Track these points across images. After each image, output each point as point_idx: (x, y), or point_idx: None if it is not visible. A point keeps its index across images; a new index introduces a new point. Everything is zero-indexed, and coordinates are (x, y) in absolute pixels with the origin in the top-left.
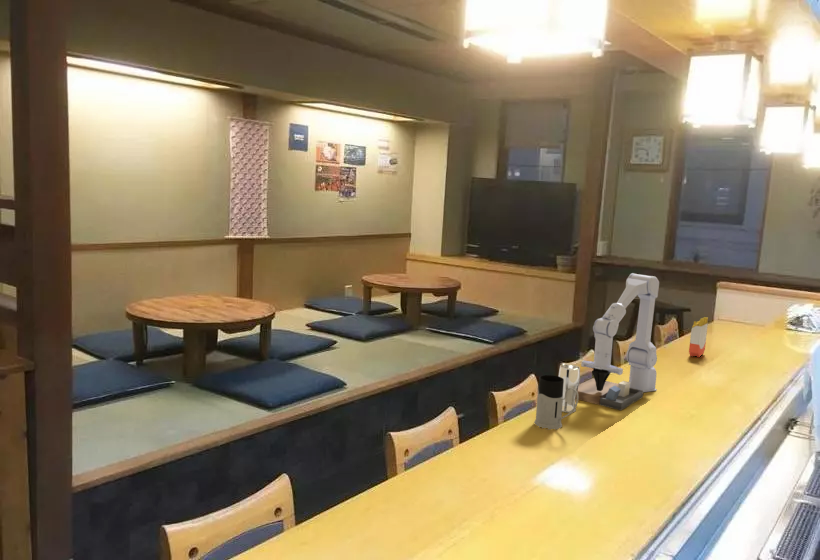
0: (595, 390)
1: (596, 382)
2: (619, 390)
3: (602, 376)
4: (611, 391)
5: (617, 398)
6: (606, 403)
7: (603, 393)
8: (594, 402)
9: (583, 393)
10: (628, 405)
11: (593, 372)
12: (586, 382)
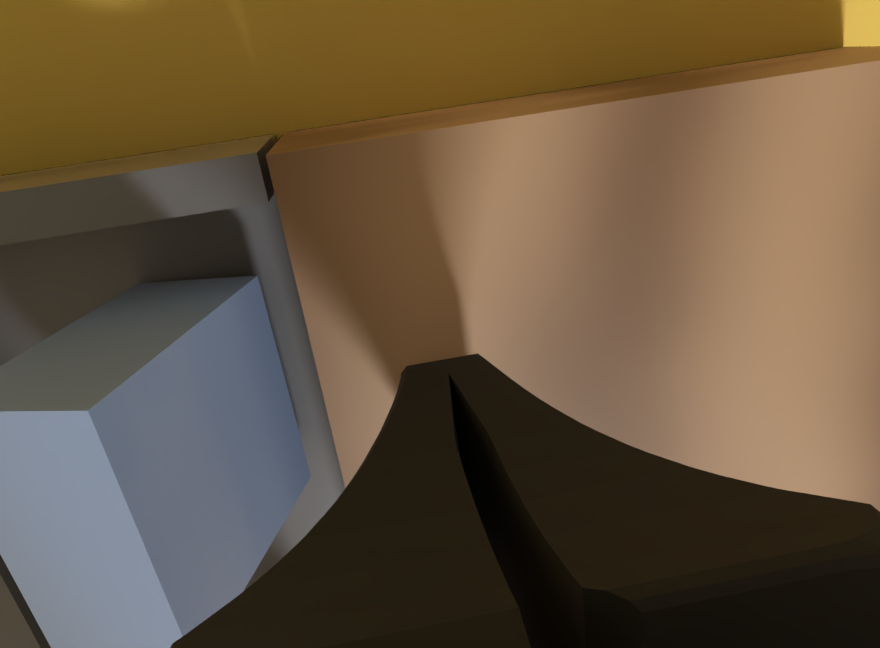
0: None
1: (530, 412)
2: (44, 591)
3: (310, 588)
4: (54, 379)
5: None
6: (133, 160)
7: (356, 393)
8: (376, 120)
9: (644, 92)
10: None
11: (825, 541)
12: None
